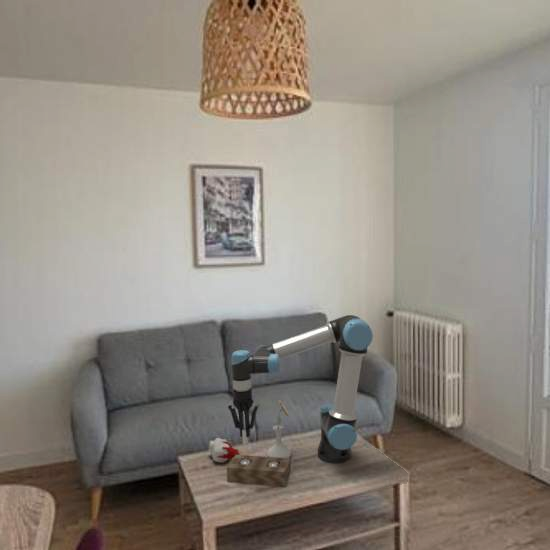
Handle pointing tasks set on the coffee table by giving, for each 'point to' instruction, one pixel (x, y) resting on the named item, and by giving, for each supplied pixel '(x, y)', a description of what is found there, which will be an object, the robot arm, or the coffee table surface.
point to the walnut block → (259, 470)
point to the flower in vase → (279, 440)
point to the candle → (222, 450)
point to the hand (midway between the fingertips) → (245, 444)
